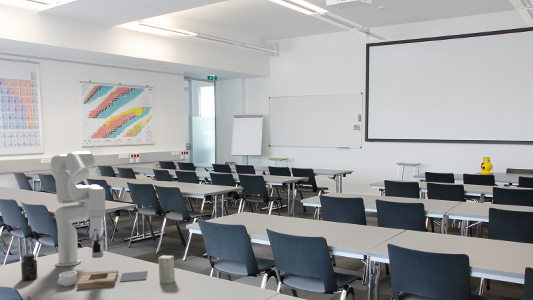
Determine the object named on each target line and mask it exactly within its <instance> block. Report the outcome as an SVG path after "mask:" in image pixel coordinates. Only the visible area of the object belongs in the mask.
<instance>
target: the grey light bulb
mask: <svg viewBox="0 0 533 300" xmlns="http://www.w3.org/2000/svg"><path fill="white" fill-rule="evenodd" d="M98 237H99V236H97V238H98ZM104 239H105V235H103V234H102V236H101V237H100V252H98V253H93V237H92V238H90V240H91V255H92V256H91V257H92V259H99V258H103V257H104ZM97 240H98V239H97Z"/></svg>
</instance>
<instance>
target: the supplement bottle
mask: <svg viewBox="0 0 533 300" xmlns="http://www.w3.org/2000/svg"><path fill="white" fill-rule="evenodd" d="M37 261H38V260H37V259H36V258H35V254H34V253H26V254H23V255H22V261H21V263H20V269H21V281H24V282H31V281H35V280H36V279H37V278H38V262H37Z"/></svg>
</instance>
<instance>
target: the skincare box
mask: <svg viewBox="0 0 533 300" xmlns="http://www.w3.org/2000/svg"><path fill="white" fill-rule="evenodd" d="M158 273H159V274H158V277H159V283H162V284H172V283H174V281H176V278H175V273H176V272H175V257H174V255H167V254H165V255H164V254H163V255H161V256H159V257H158Z"/></svg>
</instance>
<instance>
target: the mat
mask: <svg viewBox="0 0 533 300" xmlns="http://www.w3.org/2000/svg"><path fill="white" fill-rule="evenodd" d="M147 274H148V271H146V270H144V271H134V272H122V273H121V277H120V281H119V283H125V282H137V281H138V282H139V281H146V280H147V276H148V275H147Z"/></svg>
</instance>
